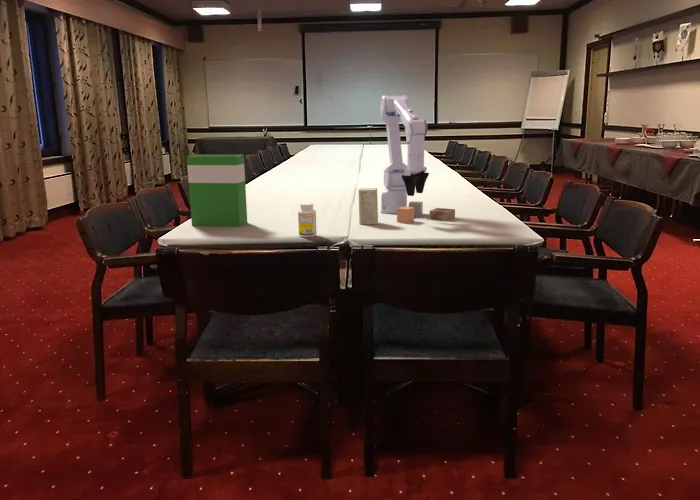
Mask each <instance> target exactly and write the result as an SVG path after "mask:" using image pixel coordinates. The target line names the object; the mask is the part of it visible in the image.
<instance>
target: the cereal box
mask: <svg viewBox="0 0 700 500" xmlns="http://www.w3.org/2000/svg"><path fill="white" fill-rule="evenodd" d="M186 167H187V168H186V169H187V178H188V179H187V180H188V190H189V191H188V192H189V205H190V218H191V226H192V227H225V228H226V227H230V228H232V227H234V228H240V227H242V226H245V225H246V224H248V210H247V209H248V207H247V193H246V192H247V191H246V188H247V187H246V172H245V171H246V170H245V156H244V154H195V155H188V156H186Z"/></svg>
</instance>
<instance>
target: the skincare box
mask: <svg viewBox="0 0 700 500" xmlns="http://www.w3.org/2000/svg"><path fill="white" fill-rule="evenodd" d="M378 210H379V209H378V187H371V188H369V187H368V188H367V187H366V188H365V187H363V188H362V187H361V188H359V189H358V212H359V213H358V215H359V216H358V217H359V220H358V221H359V225H377V224H378V223H379V221H378V220H379V216H378V215H379V211H378Z"/></svg>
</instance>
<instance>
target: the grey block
mask: <svg viewBox="0 0 700 500" xmlns="http://www.w3.org/2000/svg"><path fill="white" fill-rule="evenodd" d="M423 205H424V202H423V201H412V200H411V201H409V202H408V207H414V218H415V217H417V218H421V217H422V216H423V210H424V207H423Z"/></svg>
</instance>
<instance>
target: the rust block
mask: <svg viewBox="0 0 700 500" xmlns="http://www.w3.org/2000/svg"><path fill="white" fill-rule="evenodd" d="M414 221H415V217H414V207H409V206H407V207H400V208H397V214H396V223H400V224H401V223H402V224H410V223H413V222H414Z"/></svg>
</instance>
